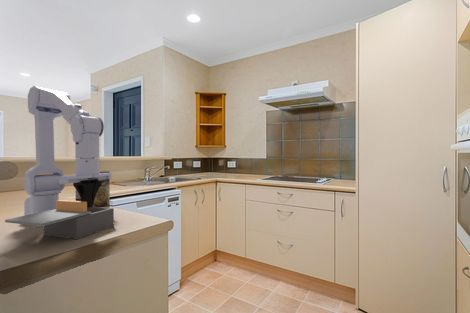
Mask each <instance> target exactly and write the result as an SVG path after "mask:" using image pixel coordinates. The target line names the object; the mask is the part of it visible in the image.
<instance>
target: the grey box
mask: <svg viewBox="0 0 470 313" xmlns="http://www.w3.org/2000/svg"><path fill="white" fill-rule="evenodd" d="M87 211H91V214H87V215H83V216H79V217H76V218H72V219H68V220H64V221H60V222H57V223H53V224H49V225H45V226H43V236H48V237H56V238H62V239H70V240H71V239H72V240H79V239H82V238H84V237H87V236H90V235H93V234H96V233H98V232H101V231H104V230H107V229H110V228H112V227H114V226H115V225H114V223H115V222H114V220H115V219H114V216H115V211H114V207H110V208H104V207H90V208H87Z"/></svg>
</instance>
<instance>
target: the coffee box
mask: <svg viewBox="0 0 470 313" xmlns="http://www.w3.org/2000/svg"><path fill="white" fill-rule="evenodd" d="M100 173H111V172H110V171H108V170H106V171H103V170H102V171H100ZM86 179H95V178H84V180H86ZM110 180H111V179H103V180H98V181H102V185H101V186H100V188H99V190H98V192H97V194H96V197H95V200H94V203H93V207H104V208H111V207H110V201H111V200H110V190H111V189H110V187H111V186H110ZM75 201H81V198H80V195H79V193H78V192H77V190H76V189H75Z"/></svg>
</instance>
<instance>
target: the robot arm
mask: <svg viewBox="0 0 470 313" xmlns="http://www.w3.org/2000/svg"><path fill="white" fill-rule="evenodd" d="M27 109H28V113H29V114H31V115H33V116H34V117H33V118H34V130H35V131H34V135H35V136H34V138H35V165H34V166H32V167H31V168H29V169H28V170H27V171H25V173H24V181H23V189H24V192H25V193H26V194H28V196H27V197H26V198H25V200H24V202H23V203H24V207H23V208H24V214H23V216H25V215H30V214H35V213H39V212H44V211H49V210H54V209H56V201H57V200H60V199H59V198H60V197H59V196H60V194H61V193H62V191H63V190H64V188H65V186H66V185H69V184H72V186H73V188H75V191H76V190H77V192H78V193H79V195H80V198H81V201H85V202H87V208H90V207H93V203H94V200H95V197H96V194H97V192H98V190H99V188H100V186H101V185H102V181H98V180H103V179H110V180H112V172H110V173H100V165H101V164H100V137H101V136H103V133H104V131H105V124H104V121H103V120H102V118H101V117H99V116H92V115H91V114H90V112H88V111H87V110H86V109H85V108H83V105H81V104H79V103H72V101H71V96H70V94H68V92H65V91H58V90H55V89H54V90H53V89H50V88H45V87H44V88H43V87H40V86H37V85H32V87H30V88H29V90H28V93H27ZM60 117H62V118H63V119H64V120H65V121H66V122H67V123H68V125H70V132H71V134H72V142H74V143H75V144H74V145H75V146H74V147H75V149H74V150H75V160H74V162H75V174H71V175H64V170H63V169H62V168H60V167H59V166H57V165H55V163H56V162H55V161H56V160H55V138H54V137H55V135H54V134H55V133H54V131H55V130H54V128H55V126H54V120H55V119H56V118H60ZM84 178H95V179H86V180H84Z"/></svg>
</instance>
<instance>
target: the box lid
mask: <svg viewBox="0 0 470 313" xmlns="http://www.w3.org/2000/svg"><path fill="white" fill-rule="evenodd" d="M87 214H91V211H87V202H85V201H76V200H67V199H65V200H64V199H59V200H57V201H56V209H54V210H49V211H44V212H39V213H35V214H30V215H25V216H24V215H22V216H16V217H11V218H8V219H5V220H4V222H5V223H8V224H9V223H10V224H17V225H25V226H35V227H44V226H45V225H49V224H53V223H57V222H60V221H64V220H68V219H72V218H76V217H79V216H83V215H87Z"/></svg>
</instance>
